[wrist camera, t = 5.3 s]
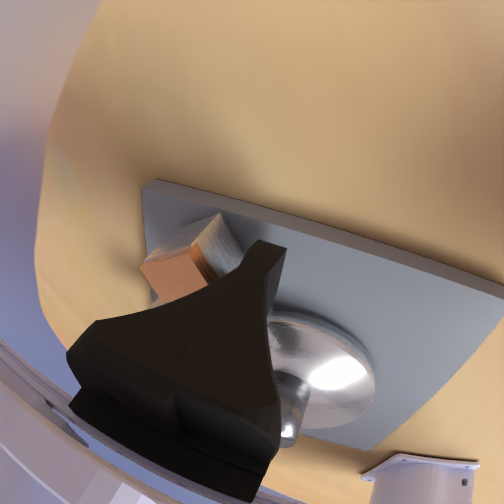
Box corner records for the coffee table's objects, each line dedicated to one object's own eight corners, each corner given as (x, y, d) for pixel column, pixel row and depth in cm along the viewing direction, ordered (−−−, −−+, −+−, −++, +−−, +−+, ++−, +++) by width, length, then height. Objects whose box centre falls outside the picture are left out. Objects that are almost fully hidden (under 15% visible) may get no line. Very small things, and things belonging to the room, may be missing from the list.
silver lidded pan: (389, 411, 15) (379, 472, 12) (254, 412, 20) (233, 460, 17) (301, 183, 10) (264, 248, 7) (128, 248, 15) (76, 297, 12)
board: (507, 287, 10) (530, 360, 7) (370, 439, 20) (360, 486, 17) (154, 178, 13) (93, 222, 10) (173, 373, 23) (148, 413, 20)
